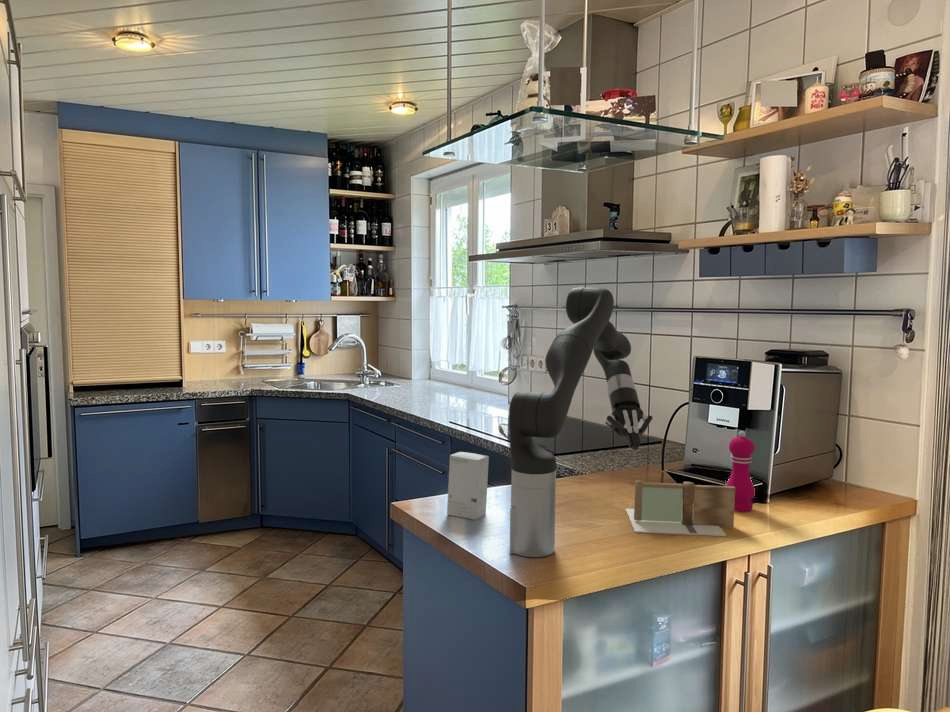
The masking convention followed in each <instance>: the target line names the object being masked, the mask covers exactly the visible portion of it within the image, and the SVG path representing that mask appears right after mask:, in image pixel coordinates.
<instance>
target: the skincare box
mask: <svg viewBox="0 0 950 712" xmlns="http://www.w3.org/2000/svg"><path fill="white" fill-rule="evenodd" d="M489 458H490V456H489V455H484V454H478V453H473V452H468V451H466V452H465V451H458V452H455V453H452V454H450V455H449V468H448V469H449V470H448V471H449V472H448V483H447V485H448V488H447V507H446V515H447V516H450V515H451V516H452V517H458V518H464V519H469V520H472V521H473V520H474V521H476V520H479V519H480V518H482V517H483V516H485V515H486V514H487V500H488V499H487V498H488V497H487V495H488V478H489V477H488V476H489V460H490V459H489ZM451 516H450V517H451Z"/></svg>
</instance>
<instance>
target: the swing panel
mask: <svg viewBox="0 0 950 712" xmlns="http://www.w3.org/2000/svg"><path fill="white" fill-rule="evenodd" d="M633 504H634V507H633V509H634V520H636V521H641V520H646V521H671V522H682V507H683V483H676V482H675V483H674V482H673V483H672V482H671V483H669V482H647V481H645V482H644V481H643V480H639V479H637V480H634V503H633Z"/></svg>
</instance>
